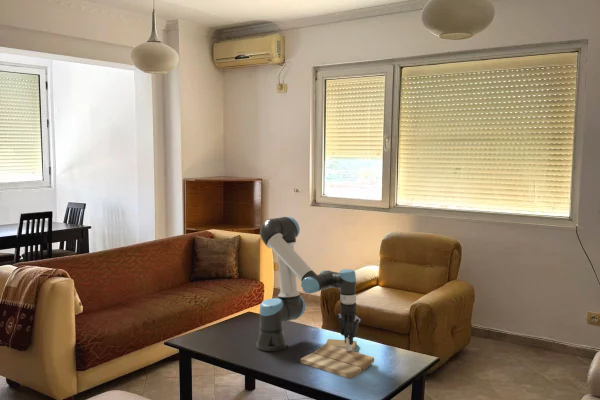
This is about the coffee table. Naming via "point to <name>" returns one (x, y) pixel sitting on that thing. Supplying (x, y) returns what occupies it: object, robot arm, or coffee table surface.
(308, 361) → the laid board
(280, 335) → the robot arm
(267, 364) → the coffee table surface
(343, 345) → the crown molding
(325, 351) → the board
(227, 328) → the coffee table surface
